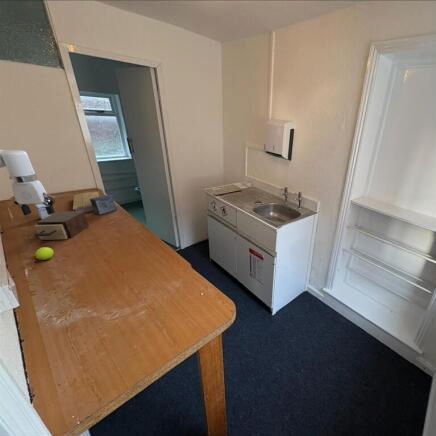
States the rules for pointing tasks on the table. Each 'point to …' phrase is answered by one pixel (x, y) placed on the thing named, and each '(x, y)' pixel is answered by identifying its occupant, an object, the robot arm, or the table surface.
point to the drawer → (51, 231)
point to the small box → (103, 204)
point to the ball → (44, 253)
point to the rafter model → (84, 201)
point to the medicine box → (42, 211)
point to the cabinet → (68, 221)
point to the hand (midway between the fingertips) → (39, 213)
